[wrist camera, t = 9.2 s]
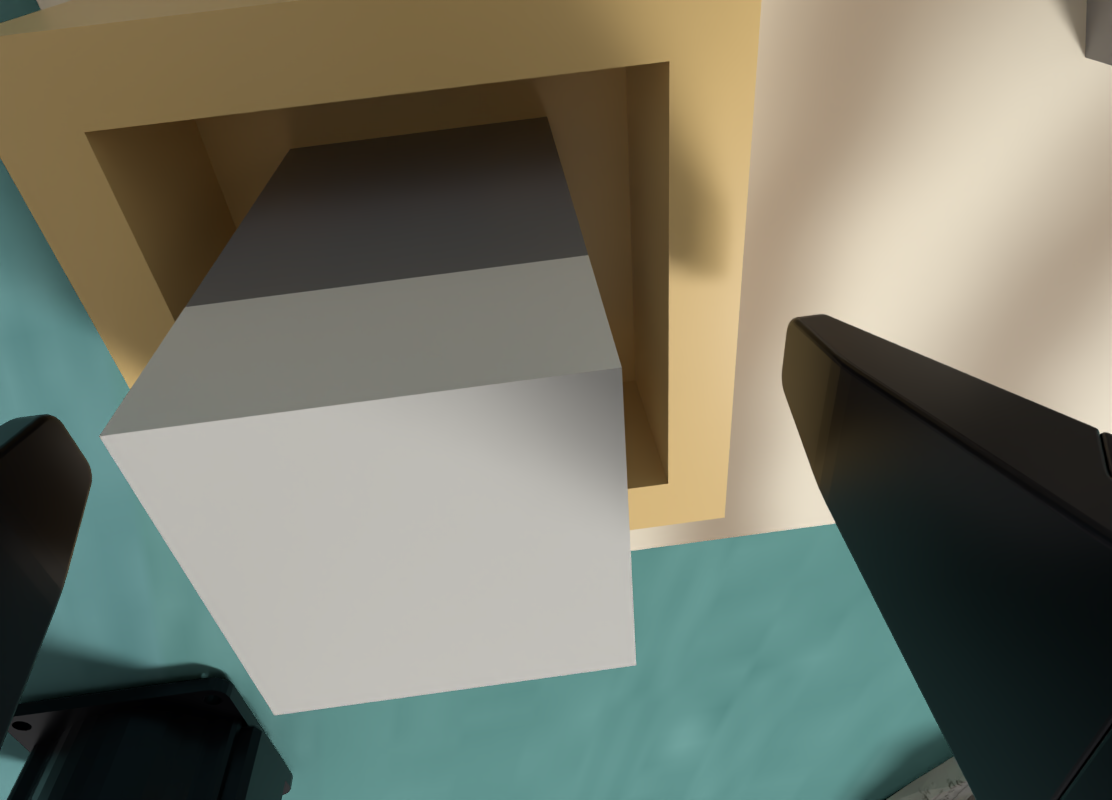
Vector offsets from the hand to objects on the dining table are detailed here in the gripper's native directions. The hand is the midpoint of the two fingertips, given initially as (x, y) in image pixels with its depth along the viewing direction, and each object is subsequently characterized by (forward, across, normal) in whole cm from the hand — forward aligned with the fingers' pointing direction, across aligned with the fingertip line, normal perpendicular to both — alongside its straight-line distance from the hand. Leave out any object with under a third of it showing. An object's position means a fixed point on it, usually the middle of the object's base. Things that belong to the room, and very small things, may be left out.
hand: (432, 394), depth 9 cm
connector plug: (+4, 0, 0) cm, 4 cm away
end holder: (+5, 0, 0) cm, 5 cm away
